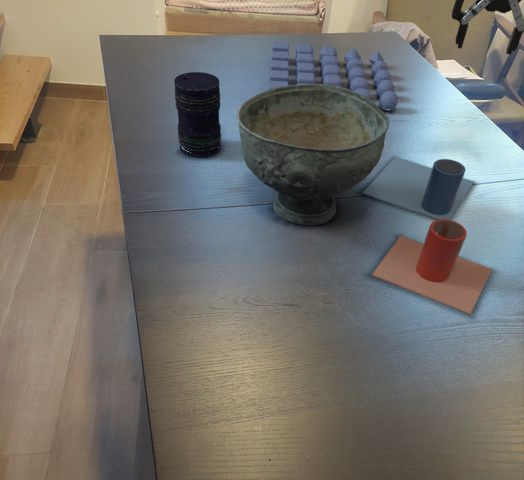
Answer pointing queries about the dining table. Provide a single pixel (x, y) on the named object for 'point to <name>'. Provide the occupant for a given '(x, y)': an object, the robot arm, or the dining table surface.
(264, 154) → the decorative bowl
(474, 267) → the rose mat
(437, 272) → the red pot
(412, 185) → the blue mat
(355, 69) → the blocks
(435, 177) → the blue pot
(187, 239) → the dining table surface
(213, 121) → the storage jar
